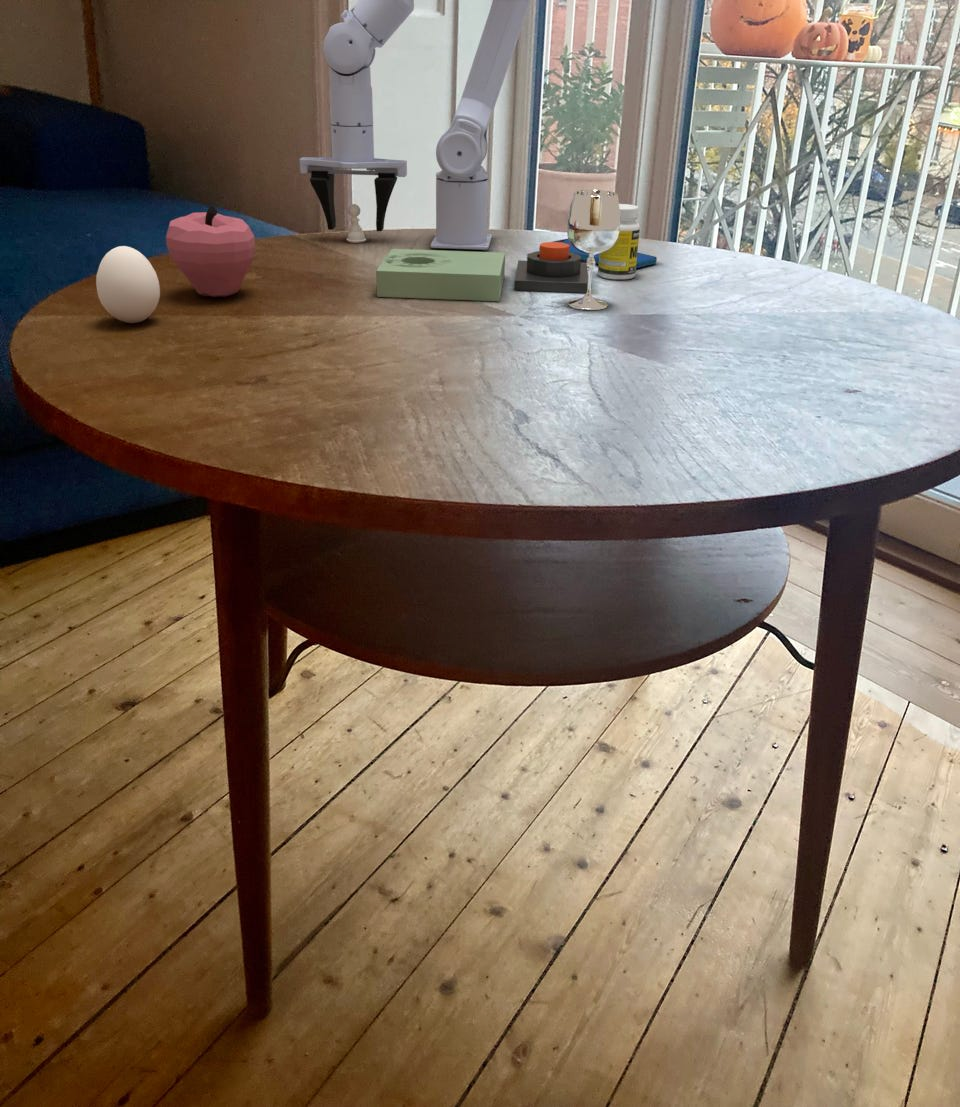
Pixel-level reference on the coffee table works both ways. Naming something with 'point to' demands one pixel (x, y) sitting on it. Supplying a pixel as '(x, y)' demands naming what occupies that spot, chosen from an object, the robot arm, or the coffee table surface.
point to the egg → (127, 285)
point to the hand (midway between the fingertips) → (355, 229)
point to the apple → (211, 251)
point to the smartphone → (641, 258)
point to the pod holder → (441, 275)
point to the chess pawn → (355, 226)
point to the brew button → (554, 251)
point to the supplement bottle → (622, 247)
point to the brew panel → (551, 274)
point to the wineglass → (592, 233)
